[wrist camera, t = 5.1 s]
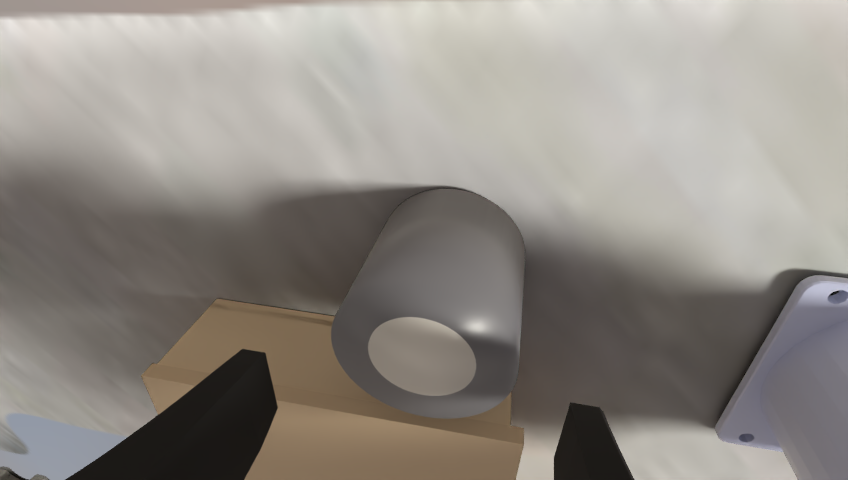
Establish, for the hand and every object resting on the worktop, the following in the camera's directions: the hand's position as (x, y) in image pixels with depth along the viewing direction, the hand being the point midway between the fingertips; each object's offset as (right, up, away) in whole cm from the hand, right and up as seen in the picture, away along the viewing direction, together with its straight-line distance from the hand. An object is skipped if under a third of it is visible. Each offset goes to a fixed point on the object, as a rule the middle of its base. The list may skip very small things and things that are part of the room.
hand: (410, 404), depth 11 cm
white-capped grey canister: (+1, +3, +6) cm, 7 cm away
